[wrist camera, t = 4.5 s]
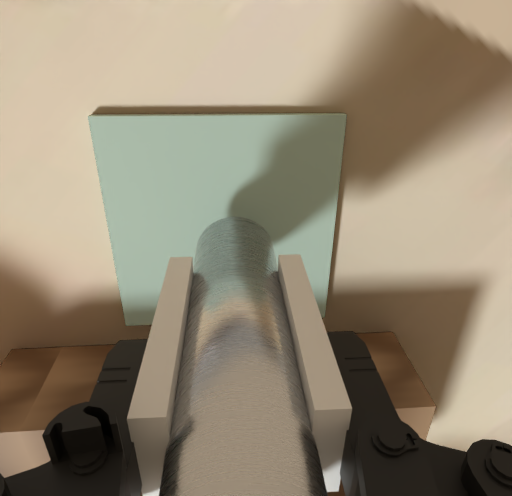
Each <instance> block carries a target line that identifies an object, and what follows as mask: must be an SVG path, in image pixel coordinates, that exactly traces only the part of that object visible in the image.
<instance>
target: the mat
mask: <svg viewBox="0 0 512 496" xmlns="http://www.w3.org/2000/svg"><path fill="white" fill-rule="evenodd" d="M346 118H347V115H346V114H345V113H270V114H91V115H89V116H88V120H89V125H90V131H91V136H92V142H93V148H94V153H95V159H96V164H97V170H98V175H99V181H100V186H101V192H102V197H103V203H104V208H105V214H106V219H107V225H108V230H109V236H110V241H111V247H112V252H113V258H114V263H115V269H116V274H117V280H118V286H119V291H120V297H121V302H122V308H123V313H124V319H125V324H126V326H137V325H152V322H153V319H154V315H155V311H156V308H157V304H158V300H159V296H160V293H161V289H162V285H163V281H164V278H165V274H166V270H167V266H168V263H169V259H170V257H192V258H193V266H194V260H195V253H196V247H197V242H198V239H199V237H200V235H201V234H202V232H203V231H204V230H205V229H206V228H207V227H208V226H209V225H211V224H212V223H214V222H216V221H218V220H220V219H223V218H228V217H242V218H247V219H250V220H252V221H255V222H256V223H258V224H259V225H261V226H262V227H263V228H264V229H265V230H266V231H267V233H268V234H269V236H270V238H271V240H272V243H273V248H274V252H275V257H276V261H277V266H278V255H291V254H300V255H301V258H302V261H303V264H304V267H305V270H306V273H307V276H308V279H309V282H310V285H311V288H312V291H313V294H314V297H315V300H316V302H317V305H318V308H319V311H320V314H321V317H322V318H324V317H325V311H326V302H327V293H328V283H329V274H330V265H331V256H332V247H333V238H334V228H335V219H336V210H337V201H338V192H339V183H340V173H341V164H342V155H343V146H344V137H345V127H346Z"/></svg>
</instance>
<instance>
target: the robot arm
mask: <svg viewBox="0 0 512 496" xmlns="http://www.w3.org/2000/svg"><path fill="white" fill-rule="evenodd" d="M193 274H194V272H193V258H192V257H170V259H169V263H168V266H167V270H166V274H165V278H164V281H163V285H162V289H161V293H160V296H159V300H158V304H157V308H156V311H155V315H154V319H153V322H152V326H151V330H150V334H149V337H148V339H144V340H120V341H119V342H118V343H117V344H116V345H115V346H114V347H113V348H112V349H111V350H110V351H109V352H108V353H107V356H106V359H105V361H104V364H103V366H102V371H101V372H100V374H99V377H98V379H97V384H96V385H95V387H94V390H93V392H92V395H91V398H90V400H89V402H83V403H79V404H76V405H72V406H70V407H69V408H67V409H65V410H64V411H62V412H60V413H59V414H58V415H57V416H56V417H54V418H53V419H52V420H51V421H50V422H49V423H48V425H47V427H46V429H45V431H44V433H43V435H42V437H43V440H44V443H45V445H46V448H47V451H48V454H49V457H50V461H49V462H47V463H45V464H43V465H40V466H38V467H36V468H33V469H30V470H27V471H24V472H21V473H18V474H15V475H12V476H9V477H6V478H4V477H3V476H2V475H1V473H0V496H140V494H141V492H142V496H159V492H160V485H161V478H162V472H163V465H164V458H165V452H166V447H167V445H168V442H169V440H170V433H171V426H172V419H173V412H174V405H175V398H176V391H177V385H178V378H179V371H180V364H181V357H182V350H183V343H184V336H185V330H186V323H187V316H188V309H189V302H190V295H191V288H192V281H193ZM278 275H279V279H280V284H281V289H282V293H283V298H284V303H285V307H286V312H287V317H288V322H289V326H290V331H291V336H292V340H293V345H294V350H295V354H296V359H297V364H298V368H299V373H300V378H301V382H302V387H303V392H304V396H305V401H306V406H307V410H308V415H309V420H310V424H311V429H312V434H313V435H314V438H315V440H316V444H317V449H318V453H319V458H320V463H321V467H322V472H323V476H324V481H325V485H326V490H327V492H336V491H339V485H340V479H341V480H342V484H343V488H344V492H345V496H512V446H511V445H509V444H506V443H503V442H500V441H497V440H485V439H482V440H479V441H477V442H474V443H472V445H471V446H470V448H469V449H468V451H467V452H464V451H460V450H456V449H452V448H447V447H443V446H439V445H436V444H433V443H430V442H427V441H425V440H423V439H422V438H420V437H419V435H418V433H416V432H415V431H414V430H413V429H412V428H411V427H410V426H409V425H408V424H406V423H404V422H403V421H401V419H400V418H399V416H398V414H397V412H396V410H395V407H394V405H393V403H392V401H391V399H390V396H389V394H388V392H387V390H386V388H385V385H384V383H383V381H382V379H381V377H380V374H379V372H377V368H376V366H375V363H374V361H373V360H372V357H371V355H370V352H369V350H368V348H367V346H366V344H365V342H364V341H363V340H362V339H360V338H359V337H358V336H357V335H356V334H355V333H354V332H353V331H342V332H326V329H325V326H324V323H323V320H322V317H321V314H320V311H319V308H318V305H317V302H316V300H315V297H314V294H313V291H312V288H311V285H310V282H309V279H308V276H307V273H306V270H305V267H304V264H303V261H302V258H301V255H300V254H291V255H278Z"/></svg>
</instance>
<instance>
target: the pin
mask: <svg viewBox="0 0 512 496" xmlns="http://www.w3.org/2000/svg"><path fill="white" fill-rule="evenodd" d="M193 272H194V274H193V281H192V288H191V295H190V302H189V309H188V316H187V323H186V330H185V336H184V343H183V350H182V357H181V364H180V371H179V378H178V385H177V391H176V398H175V405H174V412H173V419H172V426H171V433H170V440H169V442H168V445H167V447H166V452H165V458H164V465H163V472H162V478H161V485H160V492H159V496H328V495H327V490H326V485H325V481H324V476H323V472H322V467H321V463H320V458H319V453H318V449H317V444H316V440H315V438H314V435H313V434H312V429H311V424H310V420H309V415H308V410H307V406H306V401H305V396H304V392H303V387H302V382H301V378H300V373H299V368H298V364H297V359H296V354H295V350H294V345H293V340H292V336H291V331H290V326H289V322H288V317H287V312H286V307H285V303H284V298H283V293H282V289H281V284H280V279H279V275H278V266H277V261H276V257H275V252H274V248H273V243H272V240H271V238H270V236H269V234H268V233H267V231H266V230H265V229H264V228H263V227H262V226H261V225H259V224H258V223H256V222H255V221H252V220H250V219H247V218H242V217H228V218H223V219H220V220H218V221H216V222H214V223H212V224H211V225H209V226H208V227H207V228H206V229H205V230H204V231H203V232H202V234H201V235H200V237H199V239H198V242H197V247H196V253H195V260H194V266H193Z"/></svg>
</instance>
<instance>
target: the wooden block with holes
mask: <svg viewBox="0 0 512 496" xmlns="http://www.w3.org/2000/svg"><path fill="white" fill-rule="evenodd" d="M356 335H357V336H358V337H359V338H360V339H362V340H363V341H364V342H365V344H366V346H367V348H368V350H369V352H370V355H371V357H372V360H373V361H374V363H375V366H376V368H377V372H379V374H380V377H381V379H382V381H383V383H384V385H385V388H386V390H387V392H388V394H389V396H390V399H391V401H392V403H393V405H394V407H395V410H396V412H397V414H398V416H399V418H400V419H401V421H403V422H404V423H406V424H408V425H409V426H410V427H411V428H412V429H413V430H414V431H415V432H416V433H418V435H419V437H420V438H422V439H423V440H425V441H426V437H427V434H428V431H429V428H430V425H431V421H432V418H433V415H434V412H435V408H436V405H435V404H434V402H433V400H432V398H431V397H430V395H429V393H428V392H427V390H426V388H425V386H424V385H423V383H422V381H421V380H420V378H419V376H418V374H417V373H416V371H415V369H414V367H413V366H412V364H411V362H410V361H409V359H408V357H407V355H406V354H405V352H404V350H403V349H402V347H401V345H400V343H399V342H398V340H397V338H396V337H395V335H394V333H393V332H380V333H358V334H356ZM114 346H115V345H98V346H76V347H54V348H33V349H12V350H11V351H10V353H9V354H8V356H7V357H6V359H5V360H4V362H3V363H2V365H1V366H0V473H1V475H2V476H3V477H4V478H6V477H9V476H12V475H15V474H18V473H21V472H24V471H27V470H30V469H33V468H36V467H38V466H40V465H43V464H45V463H47V462H49V461H50V457H49V454H48V451H47V448H46V445H45V443H44V440H43V437H42V435H43V433H44V431H45V429H46V427H47V425H48V423H49V422H50V421H51V420H52V419H53V418H54V417H56V416H57V415H58V414H59V413H60V412H62V411H64V410H65V409H67V408H69V407H70V406H72V405H76V404H79V403H83V402H89V400H90V398H91V395H92V392H93V390H94V387H95V385H96V384H97V379H98V377H99V374H100V372H101V371H102V366H103V364H104V361H105V359H106V356H107V353H108V352H109V351H110V350H111V349H112V348H113V347H114ZM327 495H328V496H345V492H344V488H343V484H342V480H341V479H340V485H339V491H336V492H327ZM140 496H142V492H141V494H140Z"/></svg>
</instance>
